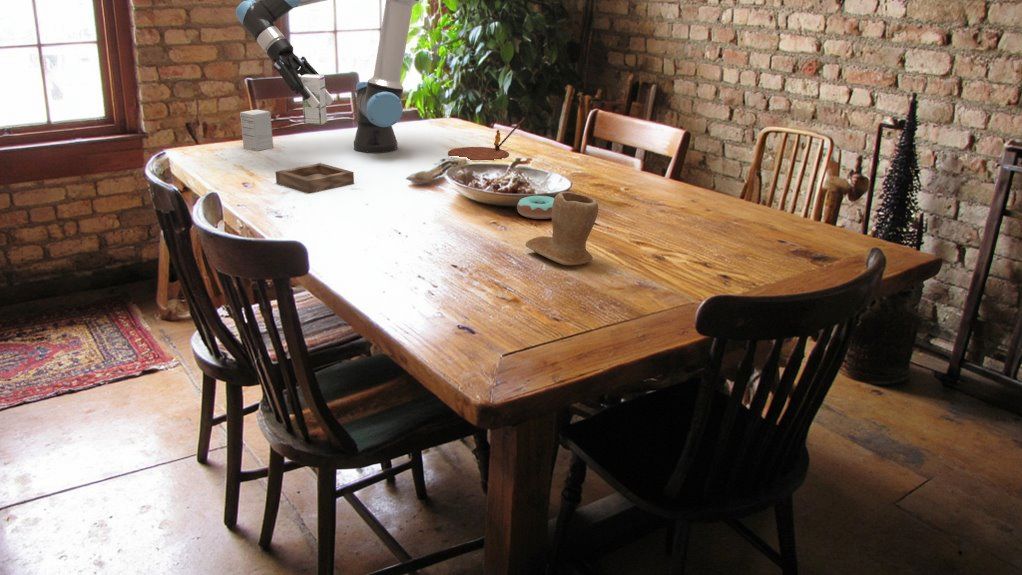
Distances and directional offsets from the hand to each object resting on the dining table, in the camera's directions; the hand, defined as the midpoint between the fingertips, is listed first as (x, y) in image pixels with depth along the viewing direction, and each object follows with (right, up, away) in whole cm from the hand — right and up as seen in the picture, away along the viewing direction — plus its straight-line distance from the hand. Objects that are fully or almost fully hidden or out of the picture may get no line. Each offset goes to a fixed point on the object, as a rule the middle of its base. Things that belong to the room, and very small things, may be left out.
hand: (324, 104), depth 256 cm
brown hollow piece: (+69, -49, -66) cm, 107 cm away
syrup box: (-3, -5, +4) cm, 7 cm away
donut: (+64, -37, -33) cm, 81 cm away
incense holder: (+49, -10, +36) cm, 62 cm away
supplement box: (-31, -8, +36) cm, 48 cm away
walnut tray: (-1, -25, -8) cm, 26 cm away
